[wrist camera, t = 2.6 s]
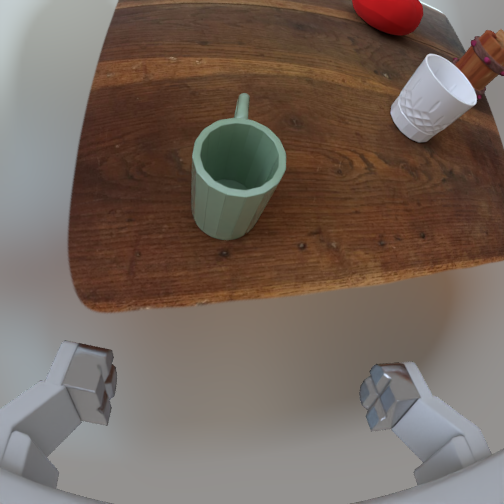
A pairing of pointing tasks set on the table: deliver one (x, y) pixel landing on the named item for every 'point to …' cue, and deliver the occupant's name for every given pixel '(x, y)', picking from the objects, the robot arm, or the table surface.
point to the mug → (483, 60)
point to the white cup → (432, 99)
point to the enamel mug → (234, 173)
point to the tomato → (390, 14)
